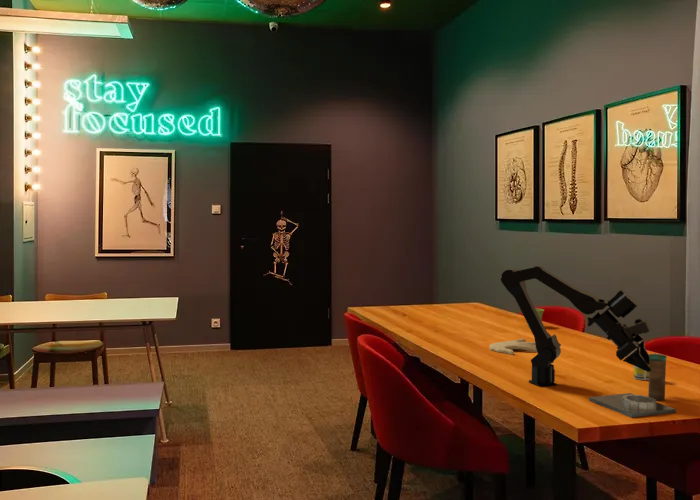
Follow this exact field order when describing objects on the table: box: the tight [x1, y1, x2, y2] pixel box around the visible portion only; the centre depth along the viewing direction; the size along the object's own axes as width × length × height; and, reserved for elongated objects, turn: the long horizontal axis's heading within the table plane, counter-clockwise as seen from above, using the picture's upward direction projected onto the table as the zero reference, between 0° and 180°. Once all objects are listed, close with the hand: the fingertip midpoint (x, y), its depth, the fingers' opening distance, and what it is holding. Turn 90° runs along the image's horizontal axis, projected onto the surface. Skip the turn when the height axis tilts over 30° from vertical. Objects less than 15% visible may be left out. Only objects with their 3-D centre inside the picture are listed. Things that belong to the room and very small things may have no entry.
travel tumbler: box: [647, 353, 667, 402], centre depth 190 cm, size 5×5×13 cm
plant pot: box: [526, 307, 545, 328], centre depth 318 cm, size 9×9×9 cm
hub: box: [588, 392, 677, 419], centre depth 182 cm, size 15×17×3 cm
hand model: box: [488, 338, 538, 356], centre depth 260 cm, size 19×5×20 cm
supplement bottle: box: [633, 364, 649, 381], centre depth 215 cm, size 5×5×8 cm
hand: (651, 367), depth 191 cm, fingers open, 9 cm apart
